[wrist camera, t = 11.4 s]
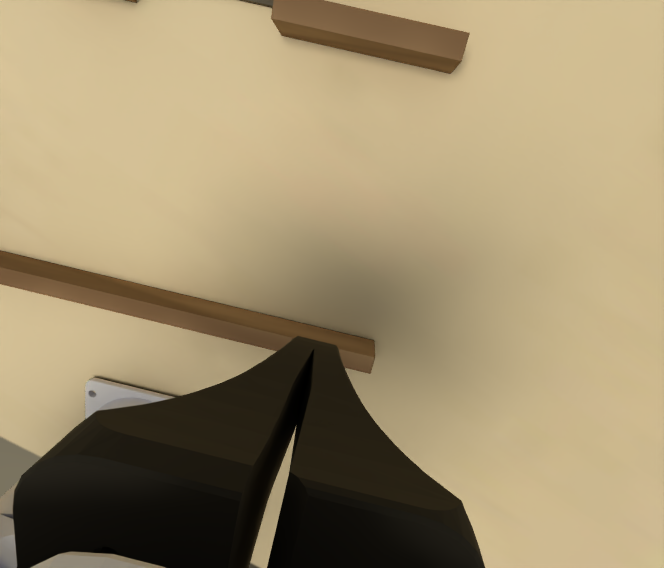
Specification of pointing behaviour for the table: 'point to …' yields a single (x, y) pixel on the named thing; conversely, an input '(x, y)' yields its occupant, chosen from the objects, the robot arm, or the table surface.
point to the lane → (222, 320)
